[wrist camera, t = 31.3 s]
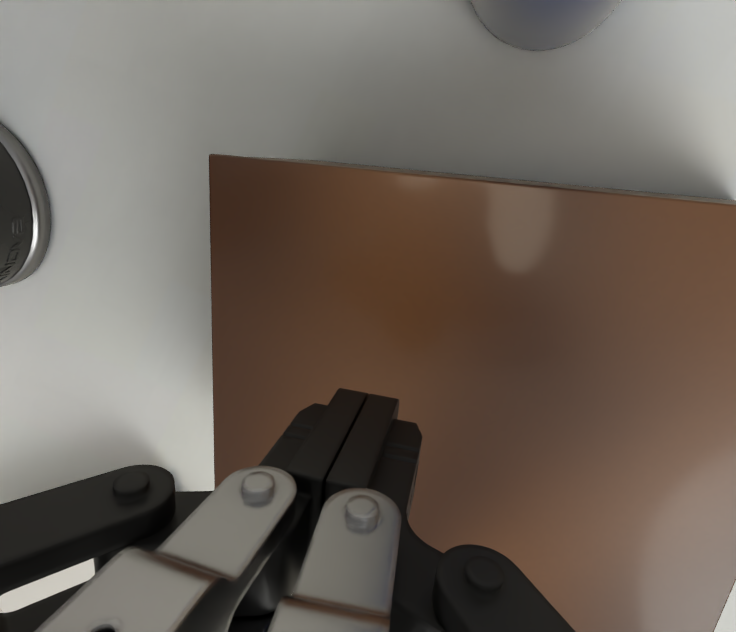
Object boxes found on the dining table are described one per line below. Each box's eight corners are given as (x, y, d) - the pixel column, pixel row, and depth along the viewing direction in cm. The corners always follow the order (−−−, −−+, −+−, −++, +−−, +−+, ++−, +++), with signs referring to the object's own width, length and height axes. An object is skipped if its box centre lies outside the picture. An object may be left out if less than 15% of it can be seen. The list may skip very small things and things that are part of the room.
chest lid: (224, 549, 20) (215, 563, 20) (220, 154, 15) (208, 153, 15) (680, 668, 17) (689, 691, 16) (867, 216, 12) (892, 219, 11)
